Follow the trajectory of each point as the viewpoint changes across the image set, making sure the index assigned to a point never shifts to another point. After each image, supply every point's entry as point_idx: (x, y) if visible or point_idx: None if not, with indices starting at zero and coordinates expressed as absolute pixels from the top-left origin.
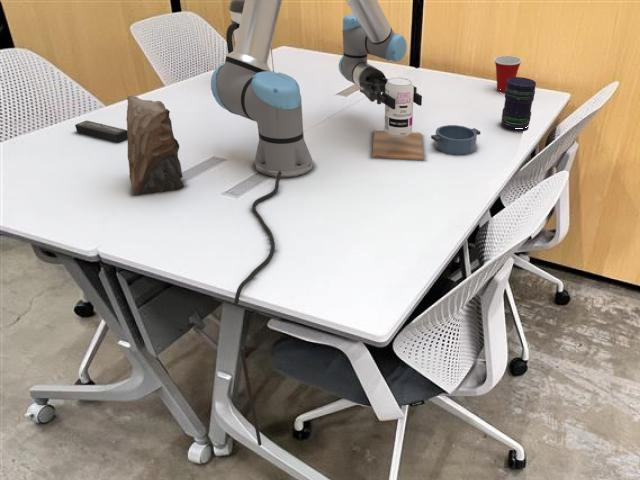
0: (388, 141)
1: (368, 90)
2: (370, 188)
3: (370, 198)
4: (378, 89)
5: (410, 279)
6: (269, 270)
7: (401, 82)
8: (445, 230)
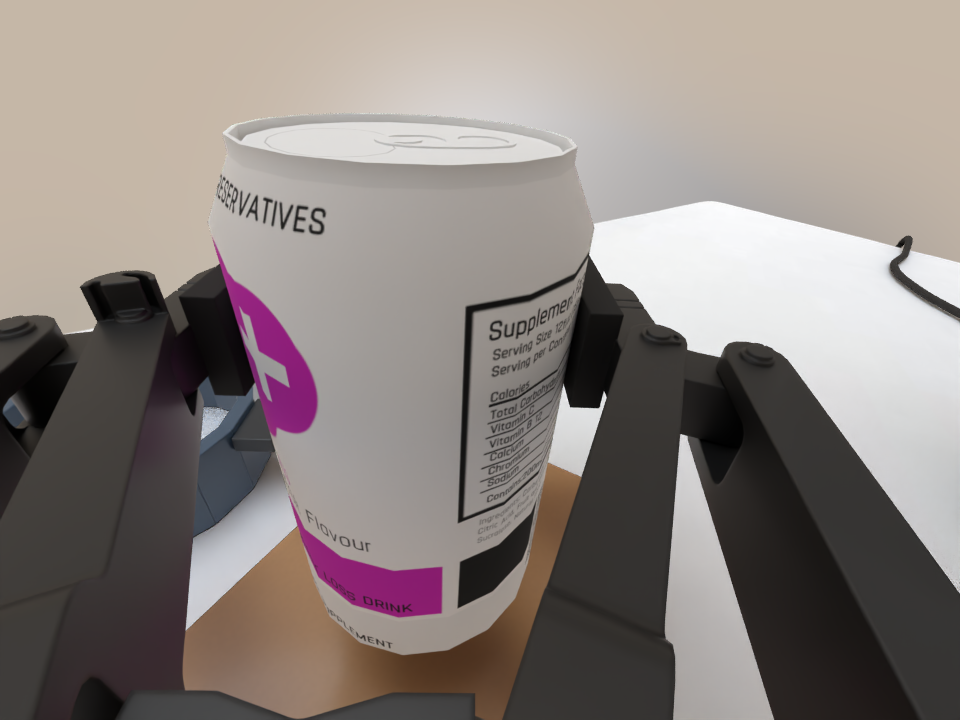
0: (470, 653)
1: (836, 426)
2: (691, 349)
3: (698, 321)
4: (636, 417)
5: (665, 217)
6: (880, 259)
7: (404, 135)
8: None
